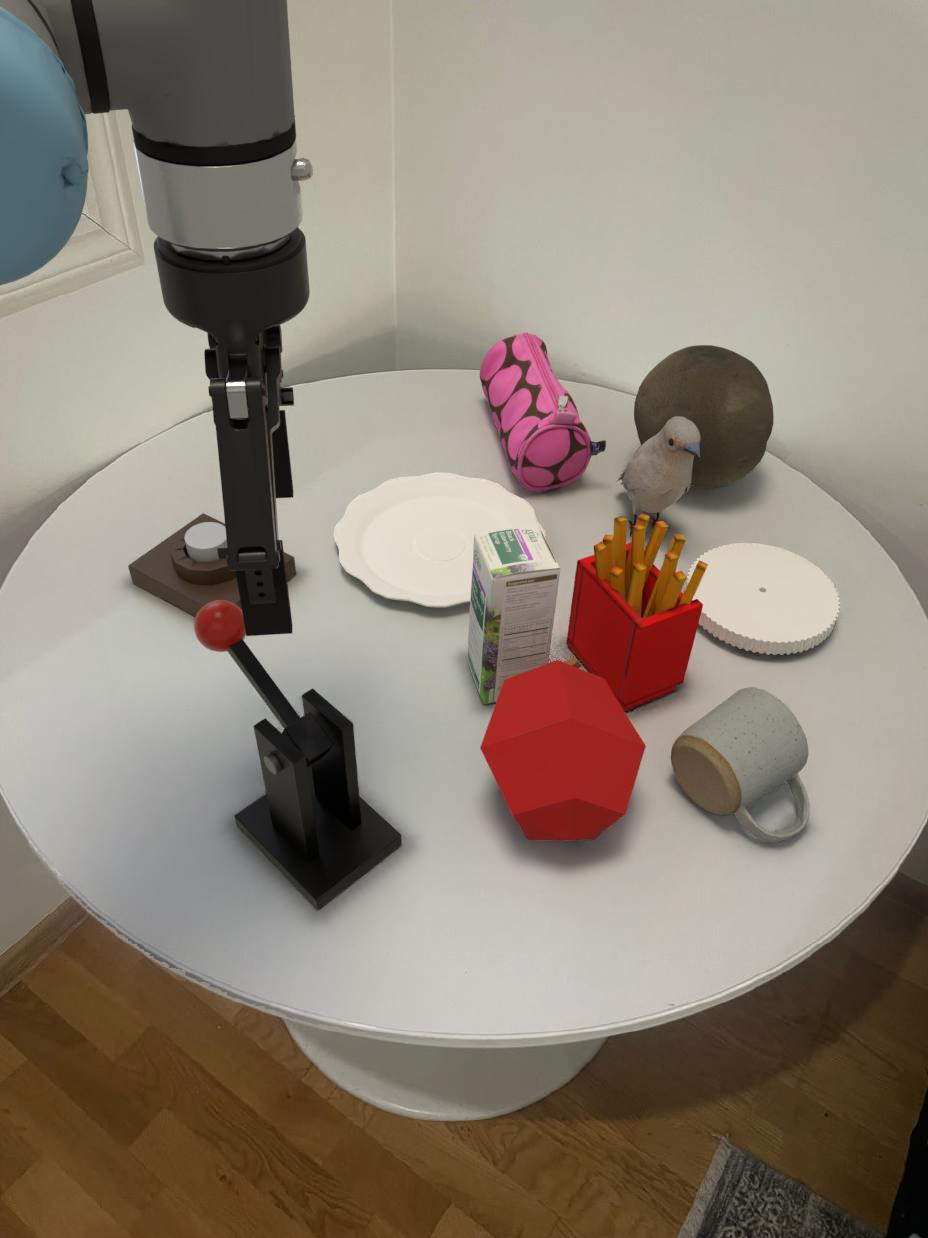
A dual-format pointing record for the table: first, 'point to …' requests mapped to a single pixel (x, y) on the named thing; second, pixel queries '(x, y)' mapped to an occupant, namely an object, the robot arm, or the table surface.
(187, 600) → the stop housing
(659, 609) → the french fries container
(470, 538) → the plate
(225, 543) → the stop button
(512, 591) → the syrup box
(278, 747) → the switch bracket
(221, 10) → the robot arm
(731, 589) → the plastic lid
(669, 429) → the bird
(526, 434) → the pencil case
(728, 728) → the ceramic mug
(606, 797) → the red faceted polyhedron
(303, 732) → the power lever
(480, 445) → the table surface
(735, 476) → the brown round ball
